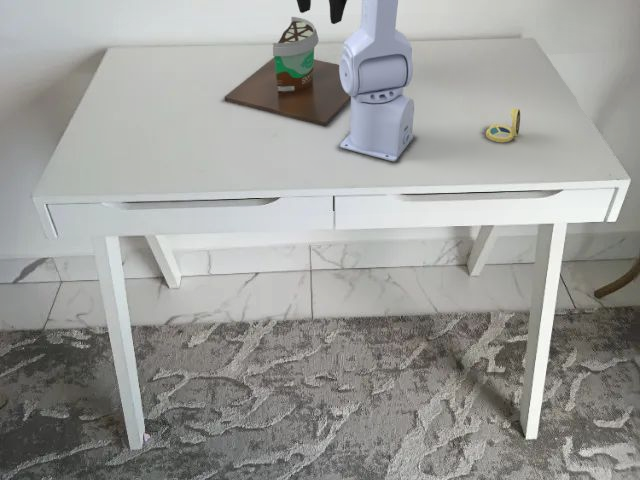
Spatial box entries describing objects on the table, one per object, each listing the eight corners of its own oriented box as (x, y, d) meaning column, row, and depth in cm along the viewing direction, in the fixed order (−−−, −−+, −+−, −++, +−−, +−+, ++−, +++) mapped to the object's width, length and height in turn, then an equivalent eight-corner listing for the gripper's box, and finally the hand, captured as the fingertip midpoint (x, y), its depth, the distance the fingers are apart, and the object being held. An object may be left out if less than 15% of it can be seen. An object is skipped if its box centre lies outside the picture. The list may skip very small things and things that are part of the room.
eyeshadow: (488, 125, 109) (493, 99, 106) (519, 131, 107) (525, 104, 104) (483, 139, 106) (488, 112, 103) (514, 145, 104) (520, 118, 101)
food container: (309, 102, 114) (308, 47, 107) (275, 98, 115) (272, 44, 109) (326, 70, 123) (325, 18, 116) (294, 67, 124) (292, 15, 118)
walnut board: (373, 76, 123) (373, 72, 122) (325, 126, 109) (325, 122, 109) (280, 55, 130) (280, 51, 129) (224, 100, 116) (224, 96, 116)
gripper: (271, -67, 111) (276, 12, 120) (336, -49, 103) (336, 34, 112) (300, -76, 115) (302, 1, 124) (364, -60, 107) (362, 21, 116)
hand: (320, 16), depth 118 cm, fingers open, 7 cm apart
